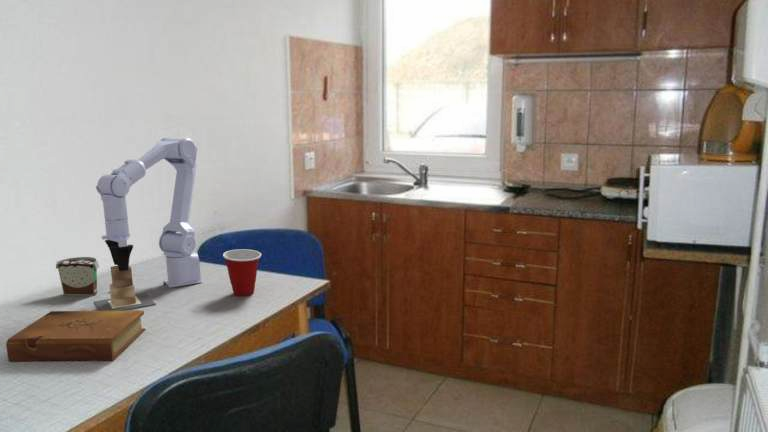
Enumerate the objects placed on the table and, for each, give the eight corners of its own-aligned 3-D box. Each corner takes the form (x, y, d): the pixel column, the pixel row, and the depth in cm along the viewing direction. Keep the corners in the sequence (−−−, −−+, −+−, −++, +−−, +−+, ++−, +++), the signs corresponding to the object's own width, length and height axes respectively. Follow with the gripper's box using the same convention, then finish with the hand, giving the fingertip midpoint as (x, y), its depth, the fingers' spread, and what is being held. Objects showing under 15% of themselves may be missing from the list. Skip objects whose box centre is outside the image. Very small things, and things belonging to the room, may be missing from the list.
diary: (8, 365, 140) (5, 340, 138) (53, 333, 158) (50, 311, 157) (113, 363, 139) (110, 338, 138) (146, 331, 157) (143, 309, 156)
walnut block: (129, 281, 179) (127, 264, 178) (132, 285, 176) (131, 267, 175) (112, 284, 177) (110, 266, 176) (115, 288, 173) (113, 270, 172)
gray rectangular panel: (146, 293, 186) (146, 292, 186) (155, 304, 176) (155, 303, 176) (94, 302, 179) (94, 300, 179) (100, 314, 169) (100, 313, 169)
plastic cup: (250, 301, 178) (247, 259, 175) (217, 296, 182) (214, 256, 179) (270, 289, 188) (268, 250, 185) (239, 286, 192) (237, 247, 189)
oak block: (132, 297, 181) (130, 280, 180) (135, 303, 176) (134, 285, 175) (111, 301, 178) (109, 284, 177) (114, 307, 173) (112, 289, 172)
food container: (110, 289, 191) (106, 256, 189) (99, 295, 185) (95, 262, 183) (71, 288, 192) (67, 256, 190) (58, 294, 186) (54, 261, 184)
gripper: (96, 216, 177) (101, 263, 179) (104, 225, 164) (109, 276, 167) (123, 213, 180) (127, 259, 183) (133, 221, 168) (138, 271, 171)
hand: (121, 267), depth 175 cm, fingers open, 7 cm apart
